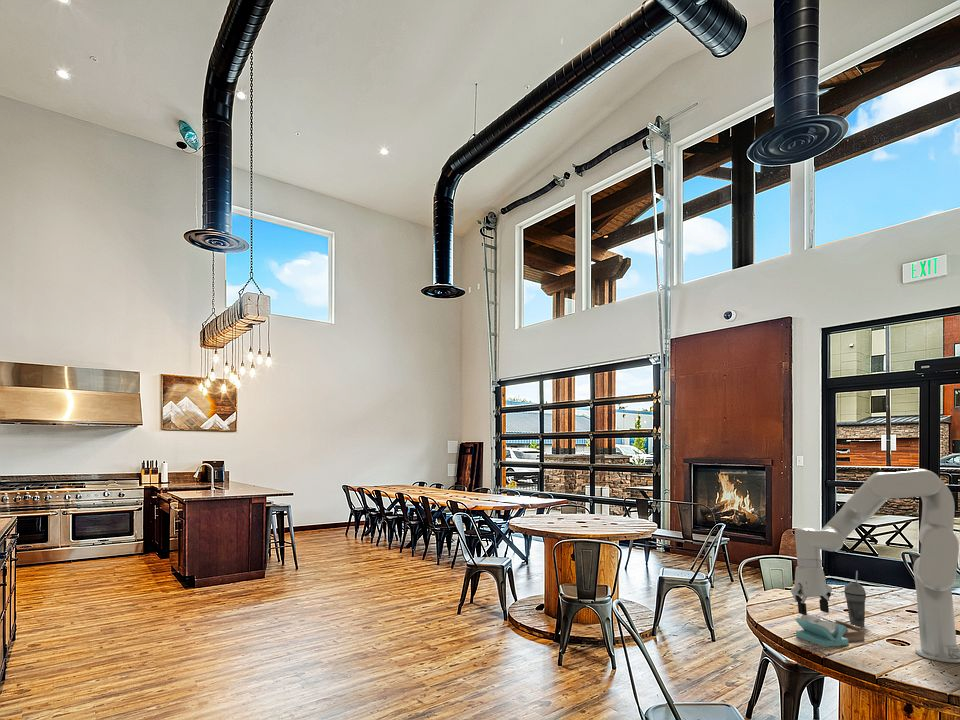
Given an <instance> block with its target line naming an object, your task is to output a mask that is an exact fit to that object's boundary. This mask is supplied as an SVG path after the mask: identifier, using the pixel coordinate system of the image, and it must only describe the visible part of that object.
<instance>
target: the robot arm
mask: <svg viewBox="0 0 960 720" xmlns="http://www.w3.org/2000/svg"><path fill="white" fill-rule="evenodd" d="M917 497H920V498H921V502H922V508H921V510H922V511H921V521H920V528H919V532H918V540H919V542H920V553H919V557H918V558H916V559H915V561H914V563H913V568H912V570H913V576H914V577H913V579H914V584H915V593H916V594H915V595H916V606H917V616H918V617H917V618H918V629H919V630H918V631H919V639H920V641H919V642H920V645H919V646H916V647H915V649H914V650H915V651H914V652H915V653H916V654H917V655H919V656H921V657H923V658H925V659H929V660H933V661H937V662H943V663H950V664H951V663H952V664H953V663H954V664H956V663H957V664H958V663H960V645H958V644H957V642H958V641H957V632H956V631H957V630H956V623H955V622H956V621H955V614H954V613H955V611H954V610H955V609H954V601H953V599H954V598H953V593H952V587H953V585H954V584H955V582H956V577H957V568H958V561H959V560H958V559H959V551H960V549H959V548H960V547H959V546H960V545H959V540H958V537H957V536H956V534H955V533H954V525H955V524H954V523H955V500H954V496H953V494H952V491H951V490H950V488H949V487H948V485H946V483H945V482H944V481H943V479H941V478H940V477H939V475H938V474H936V473H935V472H933V471H932V470H928V469H927V468H915V469H913V470H908V471H907V470H906V471H896V472H883V471H879V472H875V473H872V474H871V475H870V476H869V477H868V478H867V479H866V480H865V481H864V483H863V484H861V486H860V487H859V488H858V489H857V490H856V491H855V492H854V493H853V494H852V495H851V496H850V497H849V498H848V500H847V501H846V502H845V503H844V504H843V505H842V507H841V508H840V509H839V510H838V511H837V512H836V513H835V514H834V516H832V517H831V519H830V520H828V522H827V523H826V524H825V525H823V527H822V528H821V529H815V528H814V527H806V526H805V527H803V526H802V527H797V528H795V530H794V539H795V549H796V560H797V561H796V562H797V563H796V564H797V566H796V567H795V572H794V587H793V588H791V589H790V594H792V597H793V599H794V600H795V602H796V603H797V612H798V614H800V615H801V616H802V615H807V614H808V613H807V603H806V600H807V598H815V597H816V598H817V597H818V598H819V609H820V612H824V613H827V614H828V613H830V610H829V601H830V597H831V596H832V591H833V587H832V586H831V585H829V584H828V583H826V582H827V581H826V576H825V572H824V570H823V566H822V563H823V560H822V558H821V551H828V552H838V551H839V550H841V549H842V548H843V546H844V541H845V540H846V539H847V538H848V537H849V536H850V535H851V534H852V533H853V532H854V531H855V530H856V528H858V527H859V526H860V525H862V524H864V523H866V522H868V520H869V519H871V518H872V517H873V516H874V515H875V514H876V512H878V511H879V510H880V508H881V507H882V506H883V505H884V504H885V503H886V502H887V501H888V500H889V499H904V498H905V499H906V498H917Z"/></svg>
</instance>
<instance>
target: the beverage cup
mask: <svg viewBox="0 0 960 720" xmlns="http://www.w3.org/2000/svg"><path fill="white" fill-rule="evenodd" d="M858 572H859V571H858V570H856V571H855V581H851V582H848V583H847V584H846V585H845V587H844V591H843V594H844V597H845V599H846V604H847V605H846V606H847V612H848V618H849V624H851V625H855V626H857V627H860V626H863V627H865V618H866V617H865V616H866V615H865V614H866V599H867V598H866V597H867V594H866V590H865V588H864V586H862V584H860V583H859V582H858V577H859V576H858V575H859V573H858Z"/></svg>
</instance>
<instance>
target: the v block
mask: <svg viewBox="0 0 960 720" xmlns="http://www.w3.org/2000/svg"><path fill="white" fill-rule="evenodd" d="M817 617H818V618H821V619H824V618H822V617H820V616H817ZM824 620H827V621H829V622H832V623H835V624H837V623H836V622H834V621H832V620H828V619H824ZM795 622H796V623H797V624H798V625H799V626H800V627H801V628H802V629H799V630H795V636H796V637H797V638H799V639H801V638H802V640H804V641H806V640H807V641H806V642H809V641H810V642H809V643H811V642H813V643H812V644H814V643H816V644H818V645H817V646H819V645H821V646H823V647H822V648H824V647H826V648H830V647H829V646H836V647H844V646H843V645H846V646H849V643H850V642H848V639H847V638H844V637H842V636H843V634H844V633H845V631H846V630H847V628H846V627H845V626H843V625H840V624H837V626H838V628H839V632H838V634H837V636H835V637H833V636H832V635H831V634H830V633H829V632H828V631H827V629H826V628H824V627H821V626H818V625H816V624H813V623H810V622H807V621H805V620H802V619H801V618H799V617H797V618H796V619H795ZM816 644H815V645H816ZM841 645H842V646H841ZM821 646H820V647H821Z"/></svg>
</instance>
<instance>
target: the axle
mask: <svg viewBox="0 0 960 720" xmlns="http://www.w3.org/2000/svg"><path fill="white" fill-rule="evenodd" d="M818 617H819V616H814V615H812V614H809V613H807V615H802V614H801V616H800V619H802V620H805V621H807V622H810V623H813V624H816V625H818V626H821V627H824V628H826V629H827V631H828V632H829V633H830V634H831V635H832V636H833V637H835V636H837V634H838V632H839V628H838V626H837V624H835V623H836V622H834V623H832V622H833V621H832V622H829V621H830V620H829V621H827V620H828V619H826V620H824V618H823V619H821V618H822V617H820V618H818Z"/></svg>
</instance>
